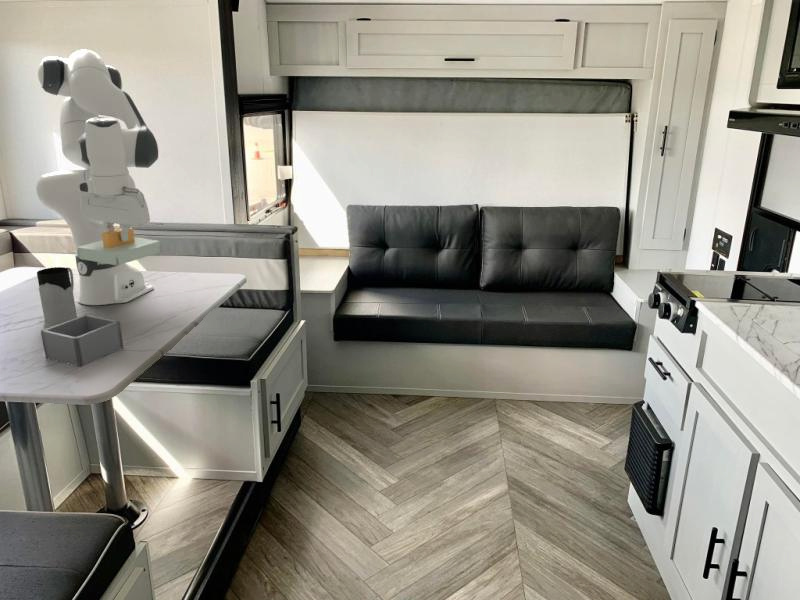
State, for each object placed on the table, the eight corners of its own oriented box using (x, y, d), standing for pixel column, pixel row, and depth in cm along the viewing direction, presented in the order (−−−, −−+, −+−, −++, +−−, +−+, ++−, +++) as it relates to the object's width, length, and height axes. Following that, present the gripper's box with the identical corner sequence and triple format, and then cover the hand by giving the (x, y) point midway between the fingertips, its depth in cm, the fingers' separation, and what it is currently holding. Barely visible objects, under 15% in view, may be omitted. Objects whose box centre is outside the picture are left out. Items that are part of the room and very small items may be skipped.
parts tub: (90, 340, 160) (85, 314, 158) (123, 347, 156) (119, 321, 154) (45, 358, 149) (40, 330, 147) (80, 366, 145) (75, 338, 143)
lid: (124, 245, 170) (121, 222, 168) (161, 252, 165) (158, 227, 163) (78, 258, 158) (74, 233, 155) (117, 265, 152) (113, 239, 150)
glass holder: (37, 329, 167) (27, 275, 162) (62, 311, 181) (53, 261, 176) (70, 329, 168) (61, 275, 163) (93, 311, 181) (85, 261, 176)
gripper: (152, 187, 154) (158, 241, 158) (93, 180, 162) (100, 232, 166) (132, 191, 148) (139, 247, 153) (72, 184, 156) (80, 237, 161)
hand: (118, 239), depth 160 cm, fingers closed on lid
